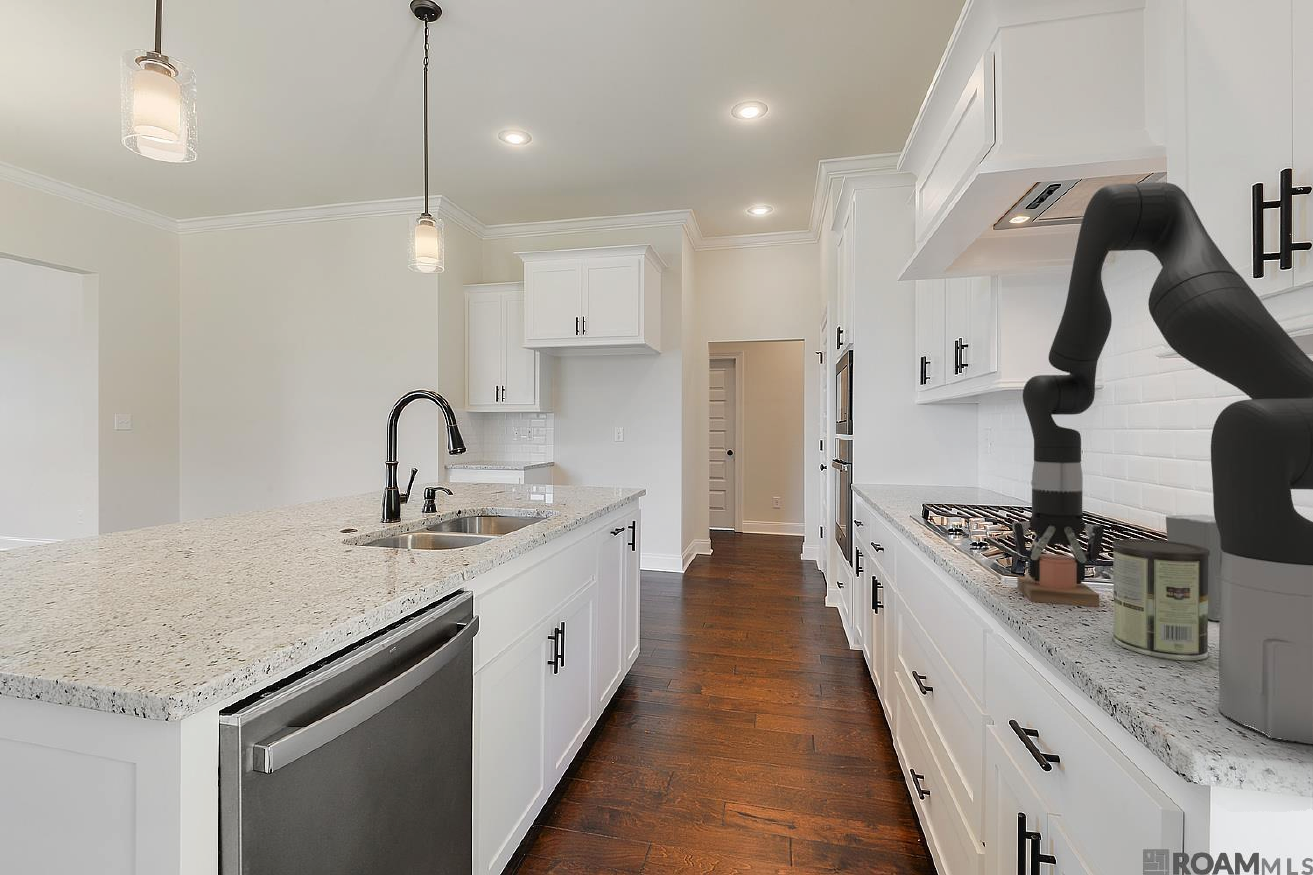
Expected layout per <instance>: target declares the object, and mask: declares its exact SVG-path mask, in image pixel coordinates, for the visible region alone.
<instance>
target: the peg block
mask: <svg viewBox="0 0 1313 875" xmlns="http://www.w3.org/2000/svg"><path fill="white" fill-rule="evenodd" d="M1016 585H1017V588H1018V589H1019V590H1020V591H1021V593H1023V595H1024V596H1025V597H1026V598H1027V599H1028V600H1029V601H1030V602H1033V603H1034V602H1035V603H1044V604H1045V603H1047V604H1055V605H1056V604H1057V605H1059V604H1060V605H1072V606H1083V607H1084V606H1085V607H1096V608H1100V594H1098V593H1097V592H1096V591H1095V590H1093V589H1092V588H1090V587H1089V586H1088V585H1087V584H1085V583H1084V582H1083V581H1081V584H1076V588H1075V589H1070V590H1064V589H1052V588H1048V587H1044V586H1040V585H1039V584H1037V583H1036V581H1034V580H1033V579H1032V577H1030V576H1017V584H1016Z"/></svg>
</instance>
